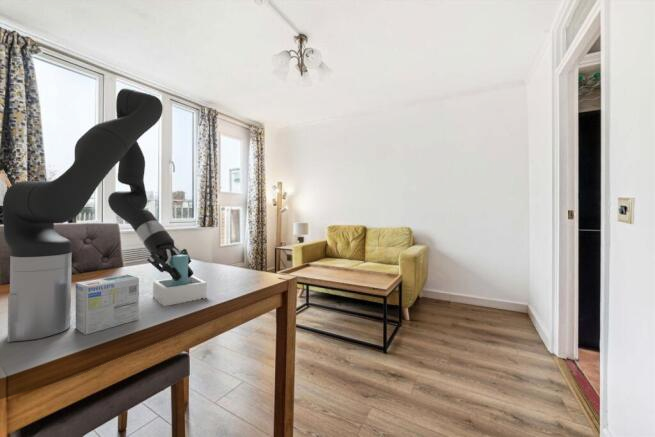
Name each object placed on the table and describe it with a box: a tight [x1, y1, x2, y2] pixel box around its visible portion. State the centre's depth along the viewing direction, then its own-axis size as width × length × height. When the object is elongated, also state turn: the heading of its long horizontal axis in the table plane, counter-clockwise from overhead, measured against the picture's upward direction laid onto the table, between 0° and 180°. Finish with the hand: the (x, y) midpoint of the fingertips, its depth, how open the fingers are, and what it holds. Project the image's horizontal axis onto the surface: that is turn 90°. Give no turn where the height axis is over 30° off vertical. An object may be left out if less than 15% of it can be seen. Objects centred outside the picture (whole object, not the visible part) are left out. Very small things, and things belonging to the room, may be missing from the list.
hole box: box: [152, 275, 208, 307], centre depth 85 cm, size 12×12×5 cm
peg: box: [171, 254, 189, 287], centre depth 85 cm, size 4×4×12 cm
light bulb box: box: [75, 274, 140, 336], centre depth 64 cm, size 11×7×11 cm, turn 149°
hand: (185, 277), depth 85 cm, fingers closed on peg, 4 cm apart
